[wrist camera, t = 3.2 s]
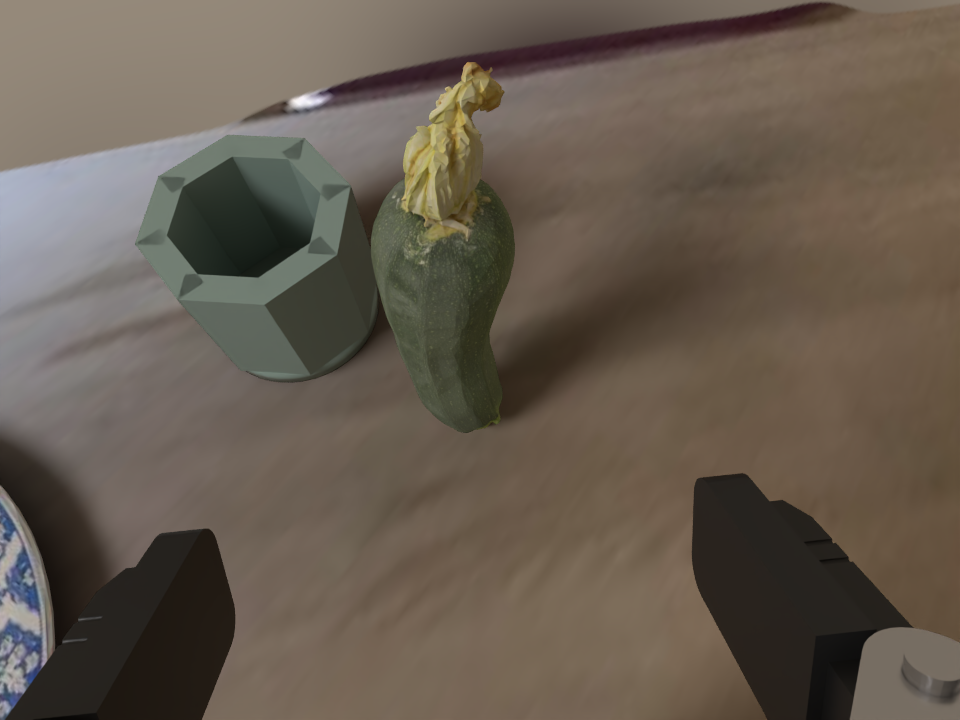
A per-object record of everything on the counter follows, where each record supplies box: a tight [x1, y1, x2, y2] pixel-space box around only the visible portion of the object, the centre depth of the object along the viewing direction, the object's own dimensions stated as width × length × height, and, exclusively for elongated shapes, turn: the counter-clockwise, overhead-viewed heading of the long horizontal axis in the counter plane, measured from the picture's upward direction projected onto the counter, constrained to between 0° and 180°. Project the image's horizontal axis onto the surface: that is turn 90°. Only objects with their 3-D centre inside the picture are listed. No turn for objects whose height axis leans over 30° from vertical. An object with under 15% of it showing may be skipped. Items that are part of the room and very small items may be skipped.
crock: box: [135, 135, 379, 382], centre depth 31 cm, size 9×9×8 cm
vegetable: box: [371, 62, 515, 433], centre depth 23 cm, size 4×4×20 cm
